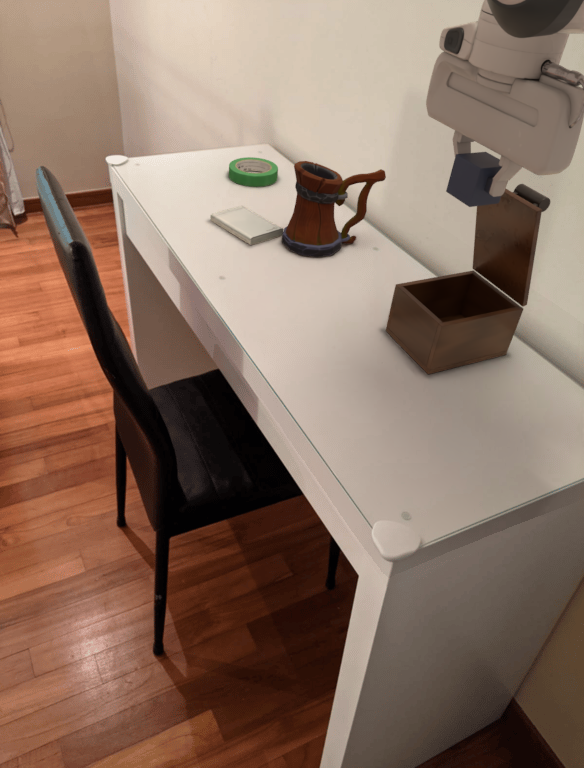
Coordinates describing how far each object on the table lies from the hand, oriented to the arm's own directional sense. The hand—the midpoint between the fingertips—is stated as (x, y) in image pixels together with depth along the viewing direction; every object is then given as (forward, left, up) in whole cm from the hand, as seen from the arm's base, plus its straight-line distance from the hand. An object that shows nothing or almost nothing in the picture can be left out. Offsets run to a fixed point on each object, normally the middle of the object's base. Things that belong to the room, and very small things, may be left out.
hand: (476, 183), depth 70 cm
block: (0, 0, -2) cm, 2 cm away
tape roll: (+54, -51, -28) cm, 79 cm away
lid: (-4, -13, -12) cm, 18 cm away
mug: (+27, -30, -28) cm, 49 cm away
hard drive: (+43, -27, -28) cm, 58 cm away
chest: (-1, -9, -28) cm, 29 cm away
